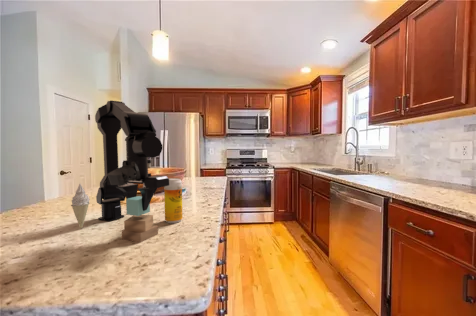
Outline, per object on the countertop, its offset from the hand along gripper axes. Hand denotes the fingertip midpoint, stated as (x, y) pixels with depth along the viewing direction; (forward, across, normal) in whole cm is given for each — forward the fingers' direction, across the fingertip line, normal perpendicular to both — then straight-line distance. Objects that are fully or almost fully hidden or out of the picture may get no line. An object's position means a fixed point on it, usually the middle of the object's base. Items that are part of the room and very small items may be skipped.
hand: (138, 209), depth 70 cm
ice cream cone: (+8, -23, -2) cm, 24 cm away
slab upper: (+6, 0, 0) cm, 6 cm away
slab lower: (+8, 0, 0) cm, 9 cm away
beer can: (+8, 0, +16) cm, 18 cm away
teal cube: (+1, 0, 0) cm, 1 cm away
